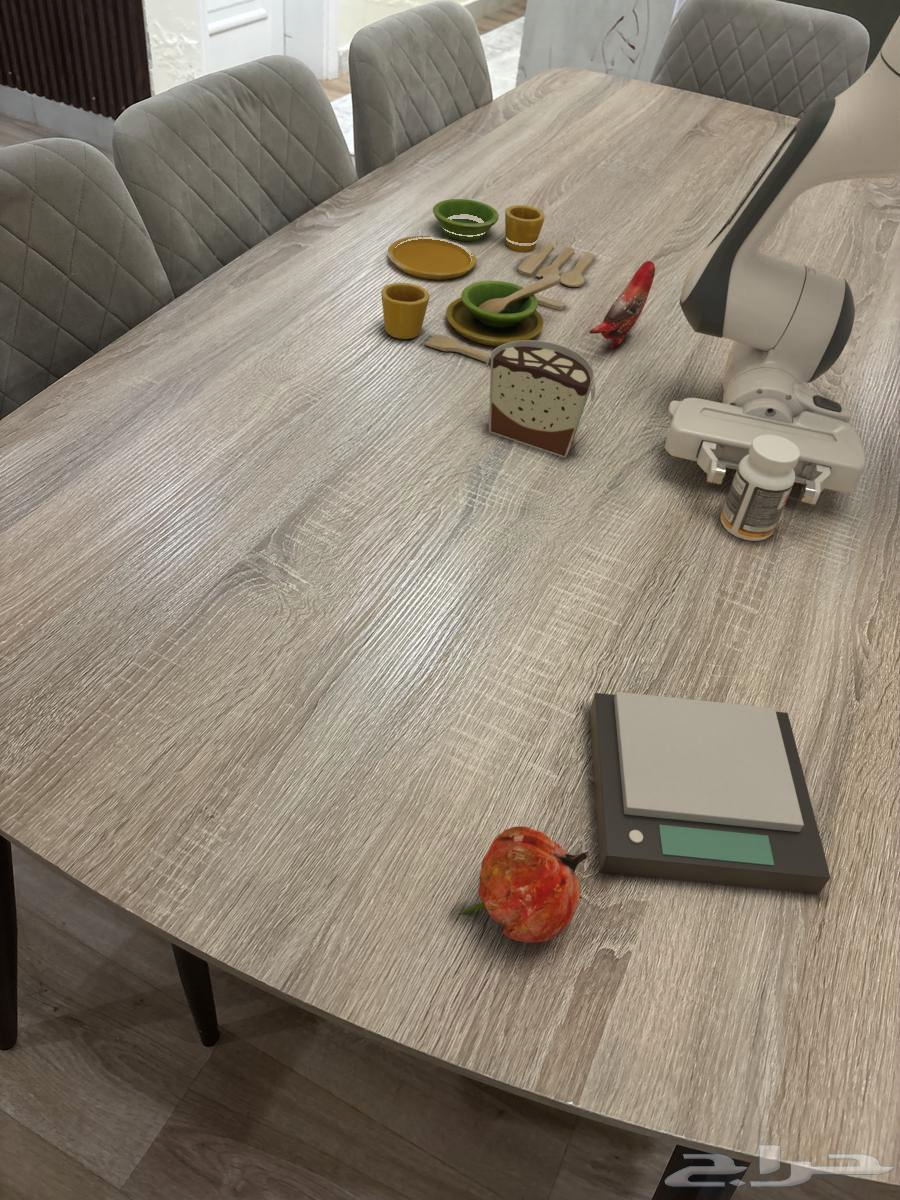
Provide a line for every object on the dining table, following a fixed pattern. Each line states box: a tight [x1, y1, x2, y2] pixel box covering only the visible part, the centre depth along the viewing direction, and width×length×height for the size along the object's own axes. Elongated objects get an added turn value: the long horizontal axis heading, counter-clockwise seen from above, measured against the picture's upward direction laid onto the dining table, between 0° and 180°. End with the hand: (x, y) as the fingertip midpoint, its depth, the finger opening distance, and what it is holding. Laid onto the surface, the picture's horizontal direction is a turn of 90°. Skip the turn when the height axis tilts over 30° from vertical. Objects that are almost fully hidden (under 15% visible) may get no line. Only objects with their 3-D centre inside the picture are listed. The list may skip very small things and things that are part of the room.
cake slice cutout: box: [484, 339, 596, 459], centre depth 104 cm, size 12×6×10 cm, turn 65°
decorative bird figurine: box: [588, 260, 656, 351], centre depth 119 cm, size 3×18×10 cm, turn 147°
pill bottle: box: [720, 435, 800, 542], centre depth 95 cm, size 6×6×10 cm
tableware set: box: [380, 198, 595, 363], centre depth 130 cm, size 41×28×6 cm
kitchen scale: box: [588, 691, 831, 895], centre depth 72 cm, size 16×15×4 cm
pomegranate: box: [459, 826, 591, 944], centre depth 63 cm, size 7×7×10 cm
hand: (762, 487), depth 94 cm, fingers open, 8 cm apart
